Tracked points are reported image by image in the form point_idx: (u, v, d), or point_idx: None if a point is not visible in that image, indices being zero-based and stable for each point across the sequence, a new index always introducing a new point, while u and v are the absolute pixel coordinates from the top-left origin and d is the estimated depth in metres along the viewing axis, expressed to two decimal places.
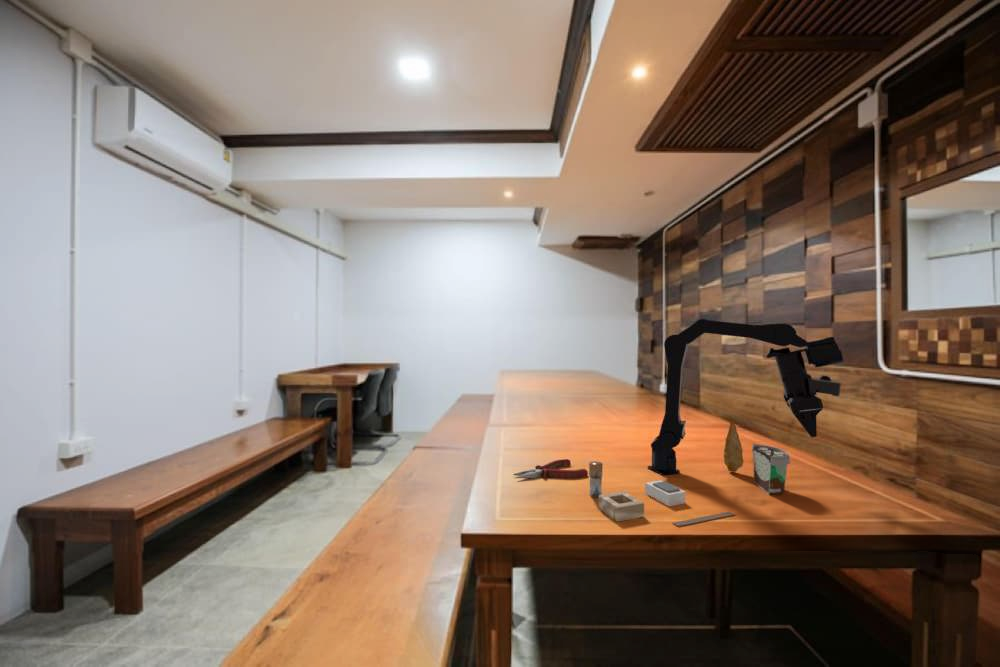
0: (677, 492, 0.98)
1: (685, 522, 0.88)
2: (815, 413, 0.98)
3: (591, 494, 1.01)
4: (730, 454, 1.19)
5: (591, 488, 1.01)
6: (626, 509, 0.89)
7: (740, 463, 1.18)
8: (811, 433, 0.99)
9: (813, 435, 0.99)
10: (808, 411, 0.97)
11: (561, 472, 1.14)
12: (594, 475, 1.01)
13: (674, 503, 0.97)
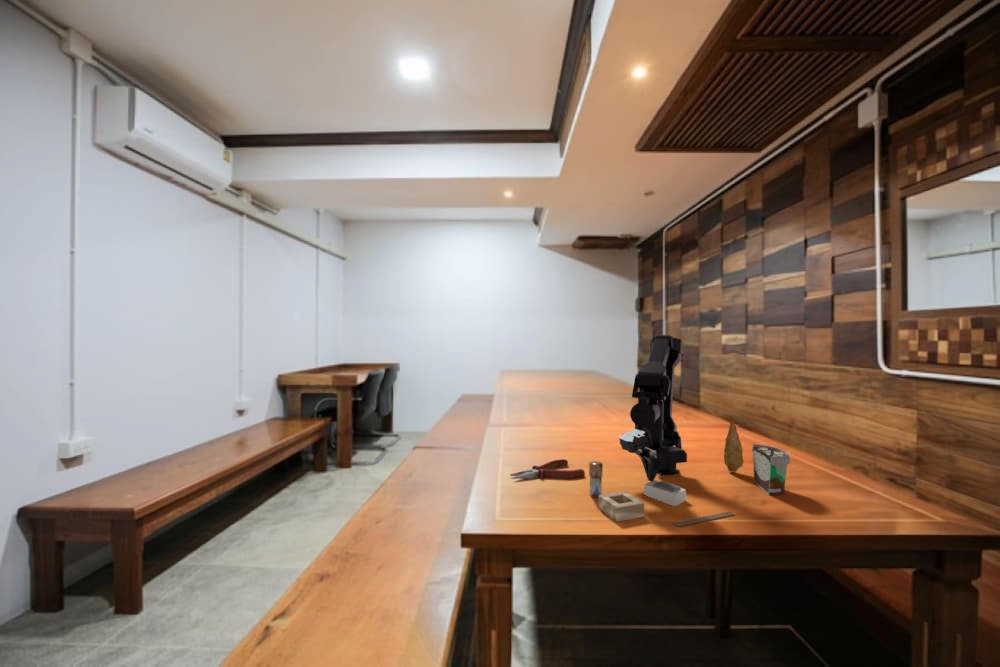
0: (680, 491, 0.98)
1: (685, 522, 0.88)
2: None
3: (591, 494, 1.01)
4: (730, 454, 1.19)
5: (591, 488, 1.01)
6: (626, 509, 0.89)
7: (740, 463, 1.18)
8: None
9: None
10: None
11: (558, 473, 1.14)
12: (594, 475, 1.01)
13: (678, 502, 0.97)
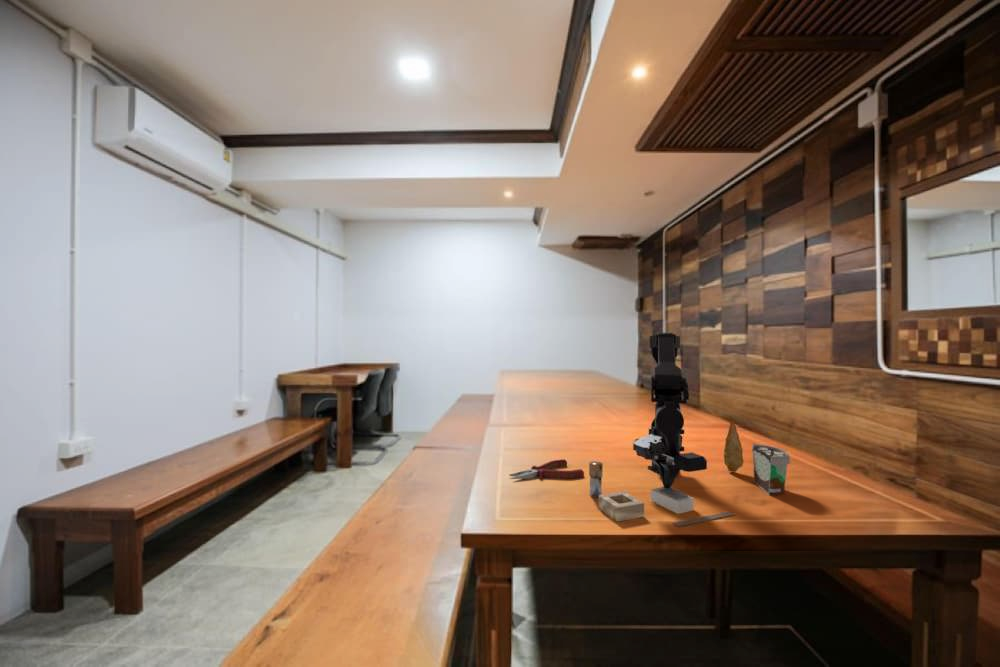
0: (686, 499, 0.94)
1: (685, 522, 0.88)
2: None
3: (591, 494, 1.01)
4: (730, 454, 1.19)
5: (591, 488, 1.01)
6: (626, 509, 0.89)
7: (740, 463, 1.18)
8: None
9: None
10: None
11: (557, 473, 1.14)
12: (594, 475, 1.01)
13: (683, 510, 0.93)
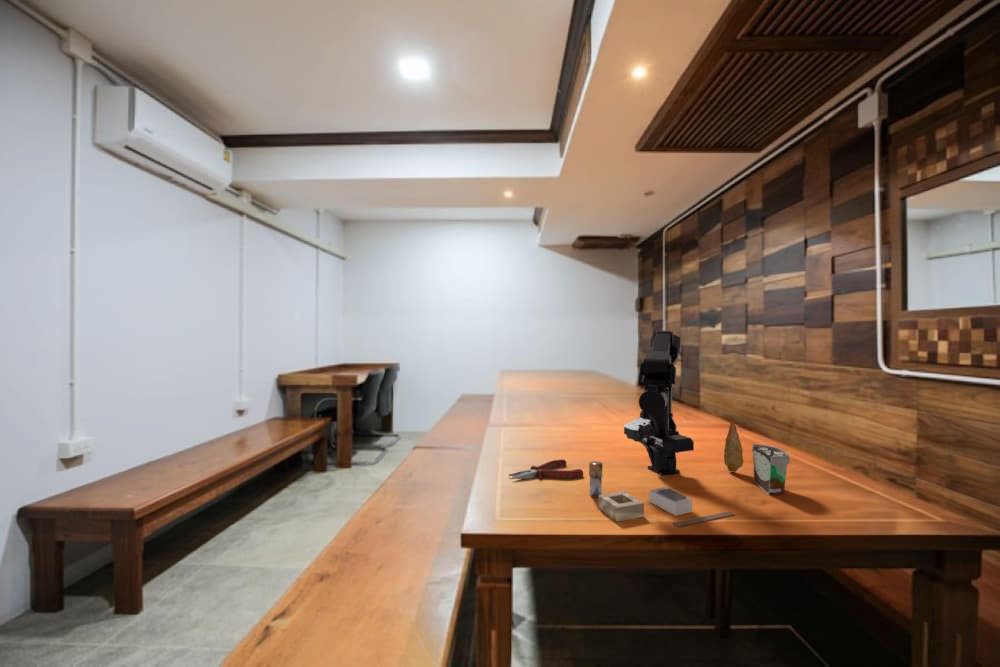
0: (684, 500, 0.93)
1: (685, 522, 0.88)
2: None
3: (591, 494, 1.01)
4: (730, 454, 1.19)
5: (591, 488, 1.01)
6: (626, 509, 0.89)
7: (740, 463, 1.18)
8: None
9: None
10: None
11: (556, 473, 1.14)
12: (594, 475, 1.01)
13: (681, 512, 0.92)
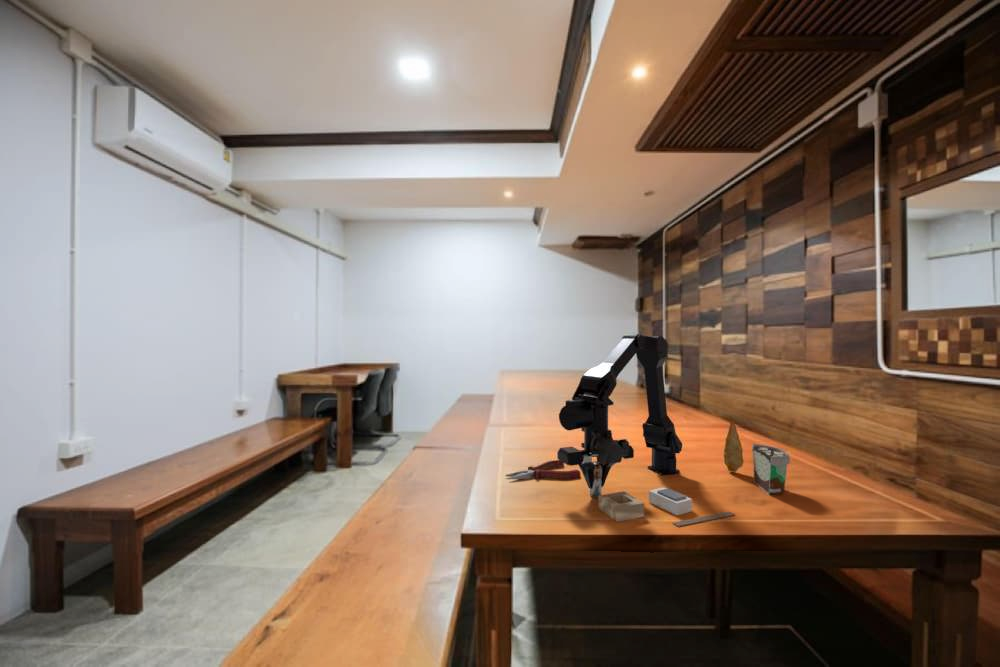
0: (684, 500, 0.93)
1: (685, 522, 0.88)
2: (586, 467, 0.99)
3: (591, 494, 1.01)
4: (730, 454, 1.19)
5: None
6: (626, 509, 0.89)
7: (740, 463, 1.18)
8: (588, 484, 1.02)
9: (589, 486, 1.01)
10: None
11: (553, 473, 1.14)
12: (594, 475, 1.01)
13: (682, 512, 0.92)
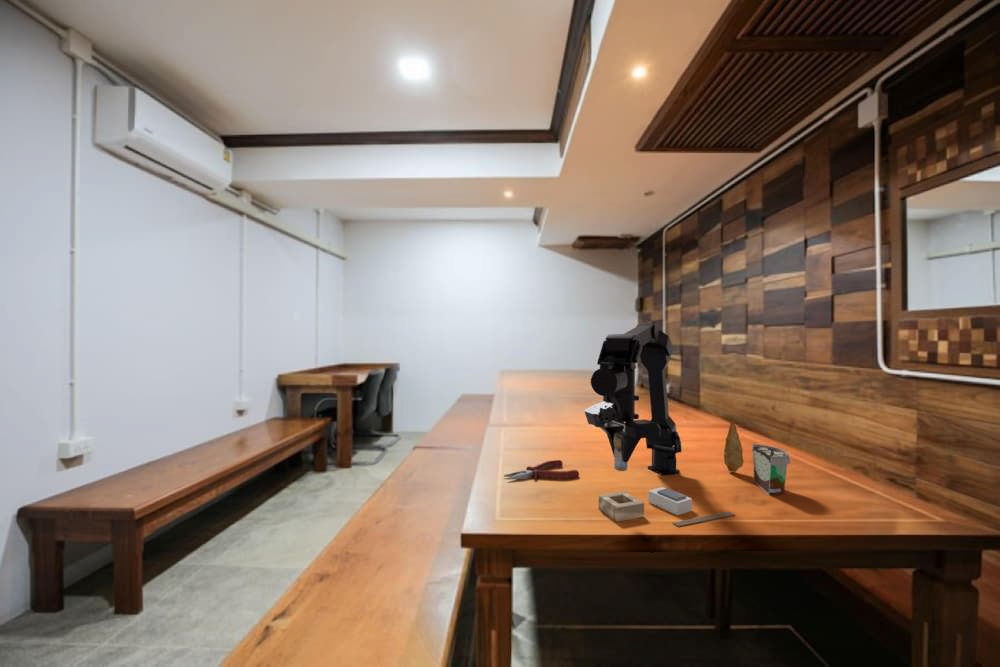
0: (684, 499, 0.93)
1: (685, 522, 0.88)
2: None
3: None
4: (730, 454, 1.19)
5: None
6: (626, 509, 0.89)
7: (740, 463, 1.18)
8: None
9: None
10: None
11: (552, 473, 1.13)
12: None
13: (682, 511, 0.92)
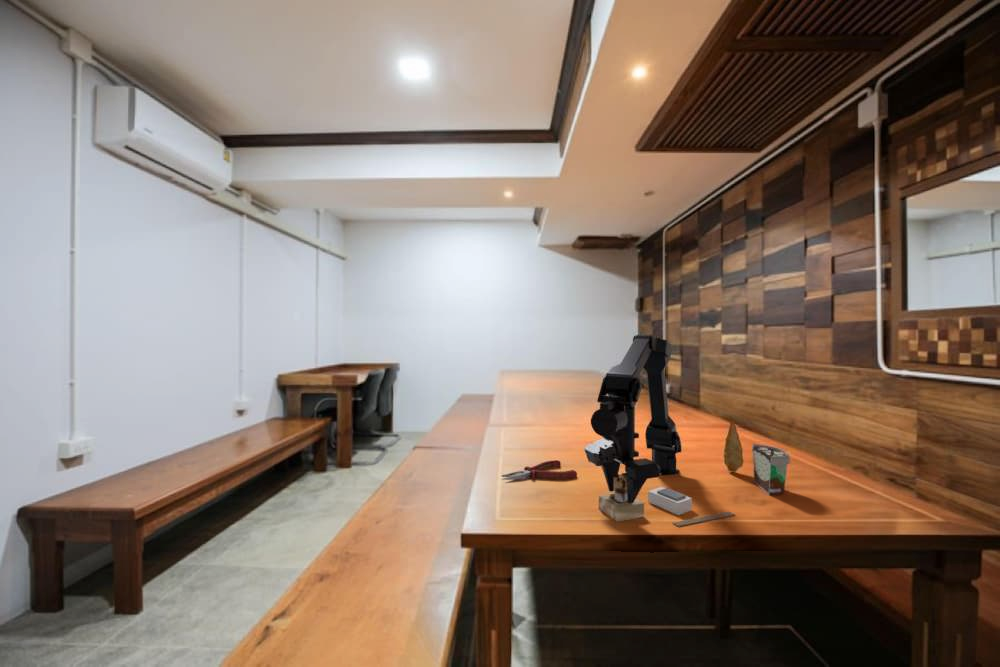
0: (684, 499, 0.94)
1: (685, 522, 0.88)
2: None
3: None
4: (730, 454, 1.19)
5: None
6: (626, 509, 0.89)
7: (740, 463, 1.18)
8: None
9: None
10: None
11: (550, 474, 1.13)
12: None
13: (682, 511, 0.93)
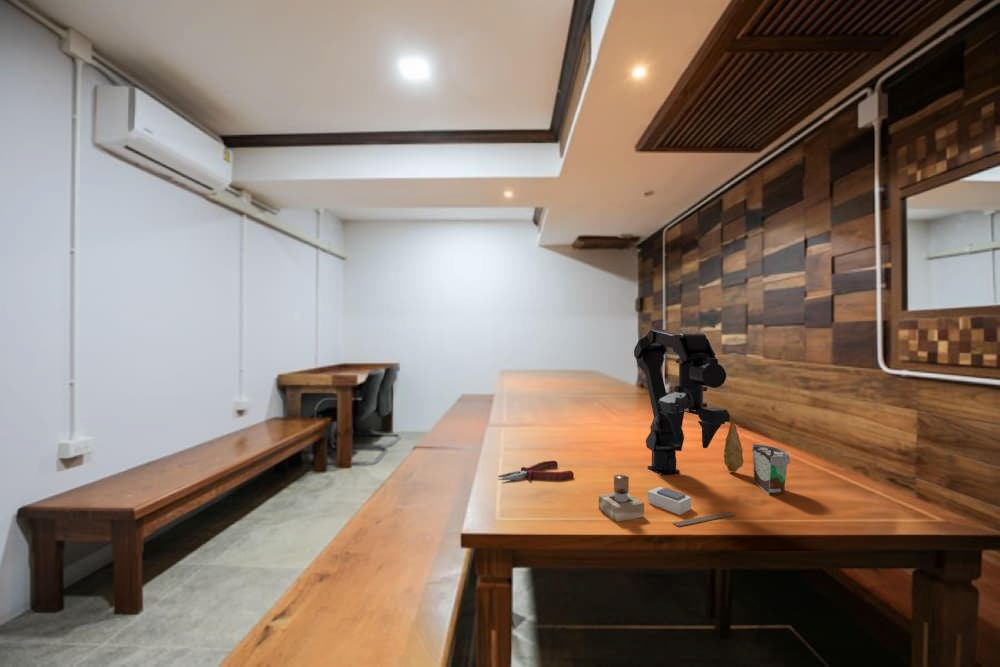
0: (685, 498, 0.94)
1: (685, 522, 0.88)
2: None
3: None
4: (730, 454, 1.19)
5: None
6: (626, 509, 0.89)
7: (740, 463, 1.18)
8: None
9: None
10: None
11: (546, 474, 1.13)
12: None
13: (683, 510, 0.93)
